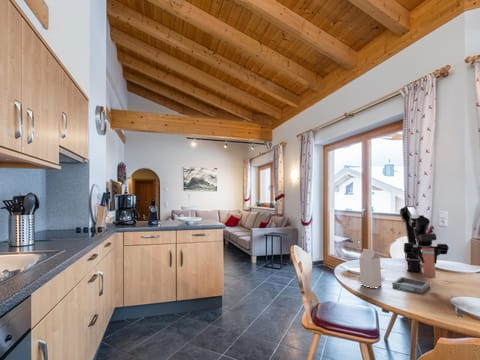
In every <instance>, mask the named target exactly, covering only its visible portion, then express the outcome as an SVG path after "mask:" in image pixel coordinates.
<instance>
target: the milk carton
mask: <svg viewBox="0 0 480 360" xmlns="http://www.w3.org/2000/svg"><path fill="white" fill-rule="evenodd" d="M358 260H359V275H360V285H361V284H363V285H366V286H369V287H371V288H375V287H379V286H382V287H383V285H382V272H381V269H382V268H381V258H380V256H379V255H378V254H377V253H376V250H371V249H366V248H363V249H362V252H361V254H360V255H359V259H358ZM379 288H380V287H379Z"/></svg>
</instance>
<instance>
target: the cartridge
mask: <svg viewBox="0 0 480 360" xmlns="http://www.w3.org/2000/svg"><path fill="white" fill-rule="evenodd" d="M421 252H422V258H423V263H422V271H423V277H424V278H428V279H436V278H437V274H436V264H435V259H434V249H433V248H428V247H423V248H422V250H421Z"/></svg>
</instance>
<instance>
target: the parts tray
mask: <svg viewBox="0 0 480 360" xmlns="http://www.w3.org/2000/svg"><path fill="white" fill-rule="evenodd" d="M391 284H392V288H393V287H396V288H395V289H397V288H400V289H399V290H402V289H404V290H403V291H406V290H408V291H407V292H411V291H412V292H411V293H415V292H416V293H415V294H420V295H423V294H425V292H426V291H428V289H429V288H430V281H426V280H425V281H424V280H420V279H415V278H410V277H406V276H405V277H404V276H399V277H398V278H397V279H396V280H394V281H393V282H392V283H391Z"/></svg>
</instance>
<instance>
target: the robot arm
mask: <svg viewBox="0 0 480 360" xmlns="http://www.w3.org/2000/svg"><path fill="white" fill-rule="evenodd" d="M399 216H400V217H401V220H402V221H403V223H404V225H405V232H406V238H407V242H404V243H403V252H404V253H405V254H404V260H405V262H406V263H407V270H406V271H407V272H412V273H416V274H419V273H421V272H422V271H423V258H422V248H423V247H428V248H433V249H434V259H435V265H437V261H438V260H437V259H438V256H440V255H448V251H449V249H450V247H449V245H448V244H447V243H437V244H436V246H434V245H433V241H436V240H438V239H437V235H436V233H434V232H432V233H428V232H427V231H429V227H430V224H431V223H430V222H431V221H430V219H429V218H427V216H425V215H421V214H420V215H419V213H418V211H417V209H416V206H415V205H405V206H404V207H402V208H400V209H399ZM432 245H433V246H432Z"/></svg>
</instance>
